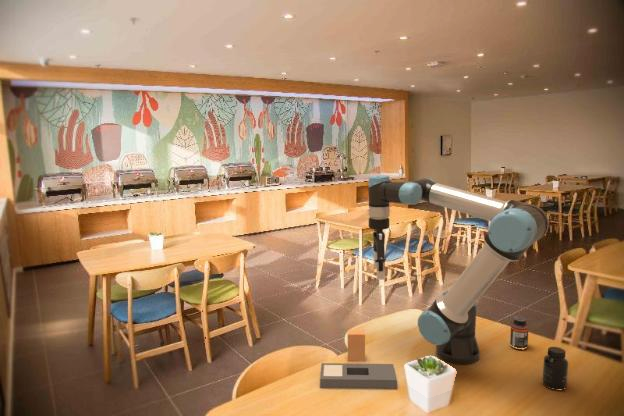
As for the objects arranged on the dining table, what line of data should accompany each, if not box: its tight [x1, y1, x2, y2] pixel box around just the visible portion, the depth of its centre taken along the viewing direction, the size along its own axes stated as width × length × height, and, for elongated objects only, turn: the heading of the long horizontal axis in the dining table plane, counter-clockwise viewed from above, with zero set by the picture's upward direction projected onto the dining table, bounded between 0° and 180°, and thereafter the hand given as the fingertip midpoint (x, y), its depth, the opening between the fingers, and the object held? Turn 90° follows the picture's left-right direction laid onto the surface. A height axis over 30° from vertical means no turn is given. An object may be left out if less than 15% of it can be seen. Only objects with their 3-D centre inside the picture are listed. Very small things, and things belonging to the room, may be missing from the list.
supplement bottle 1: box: [509, 316, 529, 348], centre depth 165 cm, size 6×6×11 cm
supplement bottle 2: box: [542, 346, 569, 389], centre depth 139 cm, size 7×7×12 cm
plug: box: [347, 329, 366, 362], centre depth 157 cm, size 6×4×11 cm, turn 86°
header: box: [319, 362, 398, 390], centre depth 144 cm, size 24×10×4 cm, turn 86°
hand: (378, 273), depth 165 cm, fingers open, 13 cm apart
